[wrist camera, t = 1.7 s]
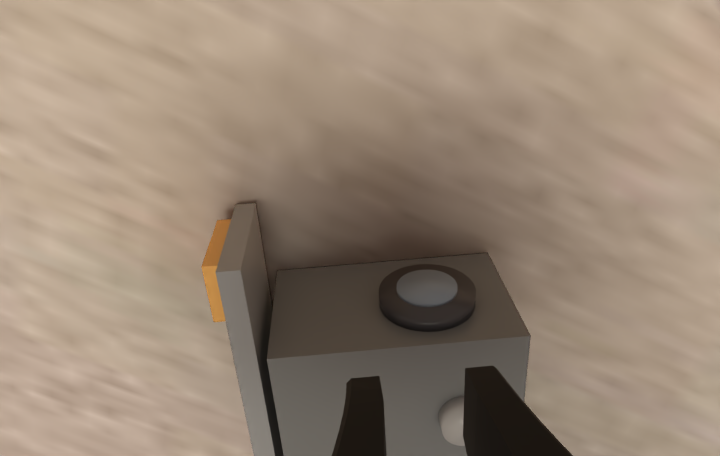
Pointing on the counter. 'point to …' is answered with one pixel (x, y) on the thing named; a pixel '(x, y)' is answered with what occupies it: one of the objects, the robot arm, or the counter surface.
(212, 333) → the counter surface
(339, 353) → the camera body
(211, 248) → the side door
